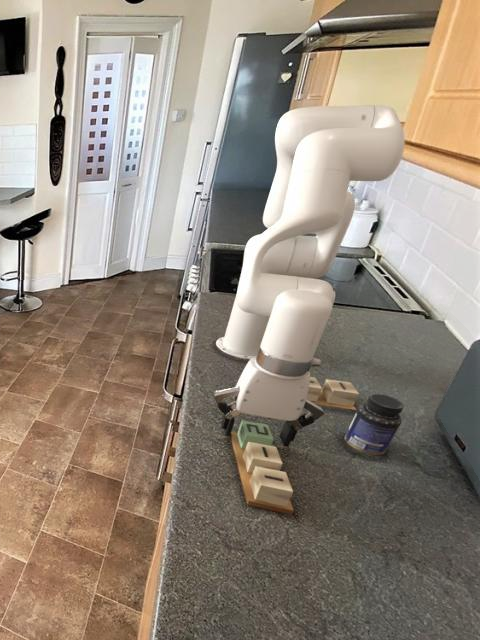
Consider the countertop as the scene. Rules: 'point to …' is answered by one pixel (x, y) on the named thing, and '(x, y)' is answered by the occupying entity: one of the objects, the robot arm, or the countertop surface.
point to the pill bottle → (375, 424)
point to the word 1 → (263, 476)
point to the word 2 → (332, 393)
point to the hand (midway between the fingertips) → (254, 436)
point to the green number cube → (254, 434)
